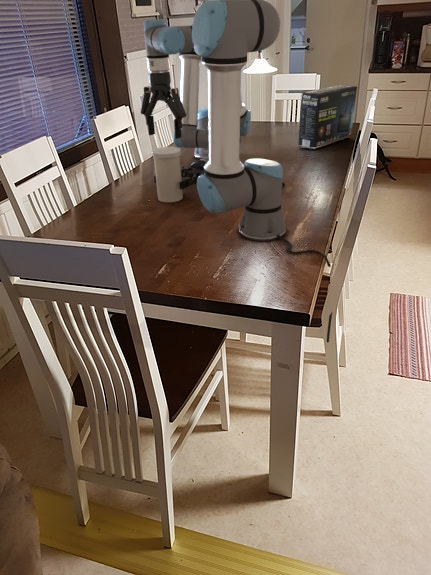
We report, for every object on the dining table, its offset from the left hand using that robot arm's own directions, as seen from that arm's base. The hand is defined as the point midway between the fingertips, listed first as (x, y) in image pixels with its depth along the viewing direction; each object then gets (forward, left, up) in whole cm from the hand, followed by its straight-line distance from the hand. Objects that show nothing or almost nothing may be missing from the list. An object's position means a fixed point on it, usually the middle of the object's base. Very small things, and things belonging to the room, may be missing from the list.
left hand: (167, 182), depth 176 cm
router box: (-94, +56, -7) cm, 110 cm away
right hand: (-2, 0, +17) cm, 17 cm away
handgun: (-29, +35, -7) cm, 46 cm away
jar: (-2, 0, -7) cm, 7 cm away
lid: (-2, 0, +12) cm, 12 cm away
